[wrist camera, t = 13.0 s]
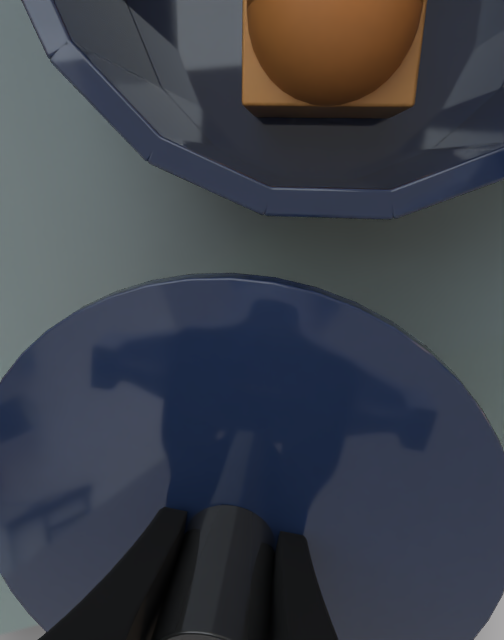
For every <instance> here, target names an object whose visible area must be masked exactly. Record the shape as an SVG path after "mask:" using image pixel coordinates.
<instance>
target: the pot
mask: <svg viewBox="0 0 504 640" xmlns="http://www.w3.org/2000/svg"><path fill="white" fill-rule="evenodd" d="M21 1H22V3H23V5H24V7H25V9H26V11H27V14H28V16H29V18H30V20H31V22H32V24H33V26H34V29H35V31H36V33H37V35H38V37H39V39H40V42H41V44H42V46H43V48H44V50H45V52H46V55H47V57H48V58H49V59H50V61H51V63H52V64H53V65H54V66H55V67H56V68H57V69H58V70H59V71H60V72H61V73H62V74H63V76H64V77H65V78H66V79H67V80H68V81H69V82H70V83H71V84H72V85H73V86H74V87H75V88H76V89H77V90H78V91H79V92H80V93H81V94H82V95H83V96H84V97H85V98H86V99H87V101H88V102H89V103H90V104H91V105H92V106H93V107H94V108H95V109H96V110H97V111H98V112H99V113H100V114H101V115H102V116H103V117H104V118H105V119H106V120H107V121H108V122H109V123H110V125H111V126H112V127H113V128H114V129H115V130H116V131H117V132H118V133H119V134H120V135H121V136H122V137H123V138H124V139H125V140H126V141H127V142H128V143H129V144H130V145H131V146H132V147H133V148H134V150H135V151H136V152H137V153H138V154H139V155H140V156H141V157H142V158H143V159H144V160H145V161H148V163H149V164H151V165H153V166H155V167H158V168H160V169H162V170H164V171H166V172H169V173H171V174H173V175H175V176H177V177H179V178H182V179H184V180H186V181H188V182H190V183H193V184H195V185H197V186H199V187H201V188H204V189H206V190H208V191H210V192H212V193H214V194H217V195H219V196H221V197H223V198H225V199H228V200H230V201H232V202H234V203H236V204H238V205H241V206H243V207H245V208H247V209H249V210H252V211H254V212H256V213H258V214H260V215H264V214H265V215H266V216H278V217H312V218H346V219H380V220H390V219H393V218H394V219H397V218H400V217H403V216H406V215H408V214H411V213H414V212H417V211H419V210H422V209H425V208H428V207H430V206H433V205H436V204H438V203H441V202H444V201H447V200H449V199H452V198H455V197H458V196H460V195H463V194H466V193H469V192H471V191H474V190H477V189H480V188H482V187H485V186H488V185H491V184H493V183H496V182H499V181H502V180H504V0H427V6H426V15H425V23H424V31H423V39H422V47H421V56H420V64H419V72H418V80H417V89H416V97H415V104H414V106H413V107H411V108H409V109H407V110H405V111H403V112H401V113H399V114H397V115H395V116H392V117H390V118H294V117H255V116H254V115H253V114H252V113H251V112H250V111H248V110H247V109H246V108H245V107H244V106H243V104H242V6H243V0H21Z"/></svg>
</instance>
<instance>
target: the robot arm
mask: <svg viewBox="0 0 504 640" xmlns="http://www.w3.org/2000/svg"><path fill="white" fill-rule="evenodd" d="M186 518H187V511H182V510H178V509H173V508H168V507H163V508H161V509H160V510H159V511H158V513H157V514H156V516H155V517H154V519H153V520H152V521H151V523H150V524H149V525H148V527H147V528H146V529H145V531H144V532H143V533H142V535H141V536H140V537H139V538H138V539H137V541H136V542H135V543H134V544H133V546H132V547H131V548H130V549H129V550H128V551H127V553H126V554H125V555H124V556H123V557H122V558H121V559H120V560H119V562H118V563H117V564H116V565H115V566H114V567H113V568H112V570H111V571H110V572H109V573H108V574H107V575H106V576H105V577H104V578H103V579H102V580H101V581H100V582H99V583H98V584H97V585H96V586H95V587H94V588H93V589H92V590H91V591H90V592H89V593H88V594H87V595H86V596H85V597H84V598H83V599H82V600H81V601H80V602H79V603H78V604H77V605H76V606H75V607H74V608H73V609H72V610H71V611H70V612H69V613H68V614H67V615H66V616H64V617H63V618H62V619H61V620H60V621H59V622H58V623H57V624H56V625H54V626H53V627H52V628H51V629H50V630H49V631H48V632H46V633H45V634H44V635H43V636H42V637H41V638H39V639H38V640H151V636H152V633H153V630H154V627H155V624H156V621H157V618H158V615H159V611H160V608H161V605H162V602H163V599H164V596H165V593H166V590H167V586H168V583H169V580H170V577H171V574H172V571H173V568H174V565H175V562H176V559H177V556H178V553H179V550H180V546H181V543H182V540H183V537H184V533H185V525H186ZM269 640H338V637H337V634H336V632H335V629H334V627H333V624H332V621H331V619H330V616H329V613H328V610H327V608H326V605H325V602H324V599H323V596H322V593H321V590H320V587H319V584H318V581H317V578H316V574H315V571H314V567H313V564H312V560H311V556H310V552H309V547H308V542H307V539H306V538H305V537H304V536H303V535H299V534H294V533H289V532H284V531H280V533H279V537H278V542H277V546H276V551H275V557H274V571H273V584H272V602H271V616H270V629H269Z"/></svg>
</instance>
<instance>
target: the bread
mask: <svg viewBox="0 0 504 640" xmlns="http://www.w3.org/2000/svg"><path fill="white" fill-rule="evenodd" d="M426 6H427V0H243V6H242V104H243V106H244V107H245V108H246V109H247V110H248V111H250V112H251V113H252V114H253V115H254V116H255V117H294V118H390V117H392V116H395V115H397V114H399V113H401V112H403V111H405V110H407V109H409V108H411V107H413V106H414V104H415V97H416V89H417V80H418V72H419V64H420V56H421V47H422V39H423V31H424V23H425V15H426Z"/></svg>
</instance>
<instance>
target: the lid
mask: <svg viewBox="0 0 504 640" xmlns="http://www.w3.org/2000/svg"><path fill="white" fill-rule="evenodd" d="M163 507H168V508H173V509H178V510H182V511H187V518H186V525H185V533H184V537H183V540H182V543H181V546H180V550H179V553H178V556H177V559H176V562H175V565H174V568H173V571H172V574H171V577H170V580H169V583H168V586H167V590H166V593H165V596H164V599H163V602H162V605H161V608H160V611H159V615H158V618H157V621H156V624H155V627H154V630H153V633H152V636H151V640H269V629H270V616H271V602H272V584H273V571H274V557H275V551H276V546H277V542H278V537H279V533H280V531H284V532H289V533H294V534H299V535H303V536H304V537H305V538H306V539H307V542H308V547H309V552H310V556H311V560H312V564H313V567H314V571H315V574H316V578H317V581H318V584H319V587H320V590H321V593H322V596H323V599H324V602H325V605H326V608H327V610H328V613H329V616H330V619H331V621H332V624H333V627H334V629H335V632H336V634H337V637H338V640H474V638H475V637H476V636H477V634H478V633H479V632H480V631H481V629H482V628H483V627H484V626H485V624H486V623H487V622H488V620H489V619H490V617H491V615H492V613H493V611H494V610H495V608H496V606H497V604H498V602H499V601H500V599H501V597H502V595H503V592H504V451H503V448H502V445H501V443H500V440H499V439H498V437H497V435H496V433H495V431H494V430H493V428H492V426H491V424H490V422H489V421H488V419H487V417H486V415H485V413H484V412H483V410H482V408H481V407H480V406H479V404H478V403H477V401H476V400H475V399H474V398H473V396H472V395H471V394H470V392H469V391H468V390H467V389H466V387H465V386H464V385H463V383H462V382H461V381H460V380H459V378H458V377H457V376H456V374H455V373H454V372H453V371H452V370H451V369H450V368H449V367H448V366H447V365H446V364H445V363H444V362H443V361H441V360H440V359H439V358H438V357H437V356H436V355H435V354H434V353H433V352H432V351H431V350H430V349H429V348H428V347H427V346H426V345H424V344H423V343H422V342H420V341H419V340H418V339H416V338H415V337H413V336H412V335H411V334H409V333H408V332H406V331H405V330H404V329H402V328H401V327H400V326H398V325H397V324H395V323H394V322H392V321H391V320H389V319H387V318H385V317H383V316H381V315H379V314H378V313H376V312H374V311H372V310H370V309H368V308H366V307H364V306H363V305H361V304H359V303H357V302H355V301H352V300H349V299H347V298H344V297H341V296H339V295H336V294H333V293H331V292H328V291H325V290H323V289H320V288H318V287H314V286H310V285H305V284H301V283H297V282H293V281H289V280H284V279H280V278H276V277H268V276H258V275H249V274H239V273H206V274H188V275H181V276H175V277H169V278H162V279H156V280H151V281H148V282H144V283H141V284H138V285H134V286H131V287H128V288H124V289H121V290H118V291H115V292H113V293H111V294H109V295H107V296H104V297H102V298H100V299H98V300H96V301H94V302H91V303H89V304H87V305H85V306H83V307H82V308H80V309H78V310H77V311H75V312H74V313H72V314H71V315H69V316H68V317H66V318H65V319H63V320H62V321H60V322H59V323H57V324H56V325H54V326H53V327H51V328H50V329H48V330H47V331H46V332H45V333H43V334H42V335H41V336H40V337H39V338H38V339H37V340H36V341H35V342H34V343H33V344H31V345H30V346H29V347H28V348H27V349H26V350H25V351H24V352H23V353H22V354H21V355H20V356H19V358H18V359H17V360H16V361H15V363H14V364H13V365H12V367H11V368H10V369H9V370H8V372H7V373H6V374H5V375H4V377H3V378H2V380H1V382H0V574H1V575H2V577H3V579H4V580H5V582H6V584H7V585H8V587H9V589H10V590H11V592H12V593H13V594H14V596H15V597H16V598H17V599H18V601H19V602H20V603H21V605H22V606H23V607H24V608H25V610H26V611H27V612H28V614H29V615H30V616H31V617H32V618H33V619H34V620H35V621H36V622H37V623H38V624H39V625H40V626H41V627H42V628H43V629H44V630H45V631H46V632H48V631H49V630H50V629H51V628H52V627H53V626H54V625H56V624H57V623H58V622H59V621H60V620H61V619H62V618H63V617H64V616H66V615H67V614H68V613H69V612H70V611H71V610H72V609H73V608H74V607H75V606H76V605H77V604H78V603H79V602H80V601H81V600H82V599H83V598H84V597H85V596H86V595H87V594H88V593H89V592H90V591H91V590H92V589H93V588H94V587H95V586H96V585H97V584H98V583H99V582H100V581H101V580H102V579H103V578H104V577H105V576H106V575H107V574H108V573H109V572H110V571H111V570H112V568H113V567H114V566H115V565H116V564H117V563H118V562H119V560H120V559H121V558H122V557H123V556H124V555H125V554H126V553H127V551H128V550H129V549H130V548H131V547H132V546H133V544H134V543H135V542H136V541H137V539H138V538H139V537H140V536H141V535H142V533H143V532H144V531H145V529H146V528H147V527H148V525H149V524H150V523H151V521H152V520H153V519H154V517H155V516H156V514H157V513H158V511H159V510H160V509H161V508H163Z"/></svg>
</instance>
